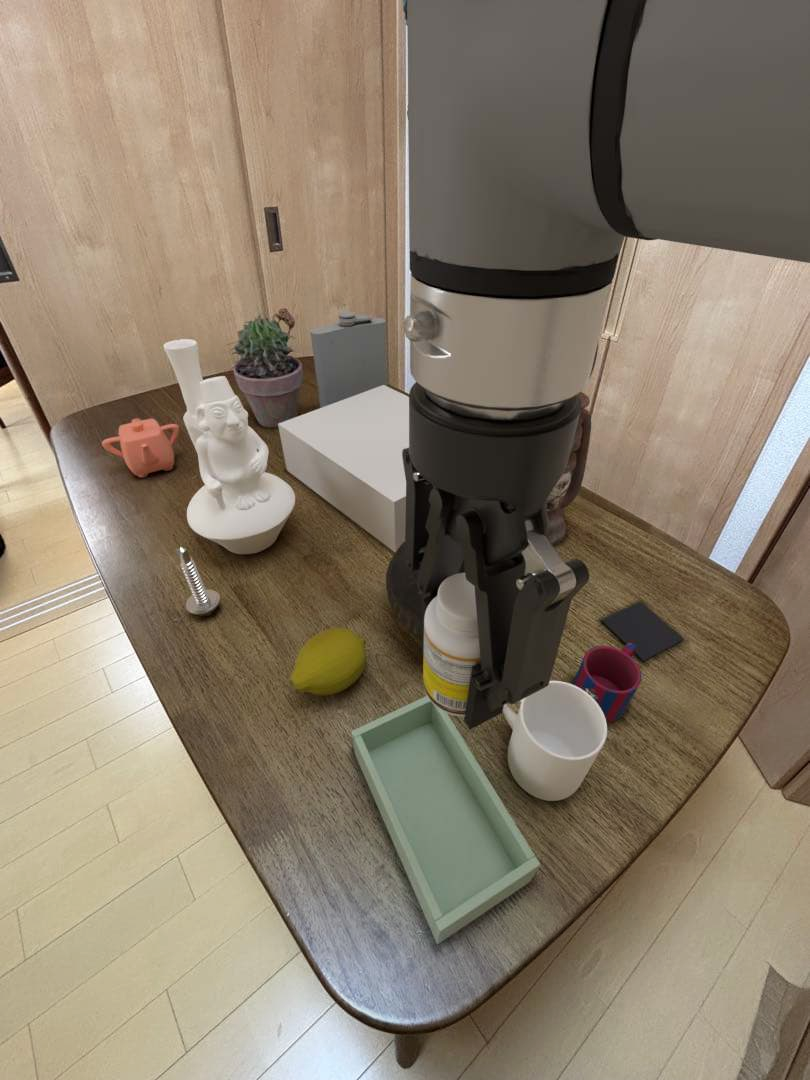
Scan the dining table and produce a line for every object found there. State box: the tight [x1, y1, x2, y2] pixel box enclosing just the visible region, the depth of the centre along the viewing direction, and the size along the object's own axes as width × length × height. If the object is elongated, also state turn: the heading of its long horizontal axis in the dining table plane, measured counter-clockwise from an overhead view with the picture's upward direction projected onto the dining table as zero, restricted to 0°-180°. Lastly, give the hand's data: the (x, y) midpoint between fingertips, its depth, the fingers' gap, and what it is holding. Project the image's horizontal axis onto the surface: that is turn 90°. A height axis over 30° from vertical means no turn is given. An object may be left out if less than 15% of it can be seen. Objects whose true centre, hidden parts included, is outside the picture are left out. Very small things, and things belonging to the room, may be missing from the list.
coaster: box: [600, 601, 685, 663], centre depth 70 cm, size 8×8×1 cm
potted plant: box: [224, 308, 304, 429], centre depth 112 cm, size 18×20×25 cm
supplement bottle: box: [422, 573, 481, 717], centre depth 33 cm, size 6×6×10 cm
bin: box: [351, 695, 541, 945], centre depth 50 cm, size 20×11×6 cm, turn 27°
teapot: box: [101, 418, 180, 478], centre depth 101 cm, size 14×12×10 cm
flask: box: [309, 310, 388, 409], centre depth 112 cm, size 17×5×25 cm, turn 119°
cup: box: [571, 642, 642, 724], centre depth 61 cm, size 7×10×7 cm
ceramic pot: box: [385, 541, 465, 642], centre depth 65 cm, size 24×24×22 cm
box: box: [277, 385, 409, 553], centre depth 96 cm, size 28×35×11 cm
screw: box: [175, 546, 221, 618], centre depth 69 cm, size 13×5×5 cm
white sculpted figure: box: [162, 338, 296, 555], centre depth 77 cm, size 18×22×32 cm
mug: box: [502, 680, 608, 802], centre depth 53 cm, size 9×12×11 cm
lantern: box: [546, 344, 599, 547], centre depth 76 cm, size 11×16×35 cm
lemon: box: [289, 626, 367, 696], centre depth 62 cm, size 11×8×8 cm
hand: (459, 681), depth 36 cm, fingers closed on supplement bottle, 6 cm apart
